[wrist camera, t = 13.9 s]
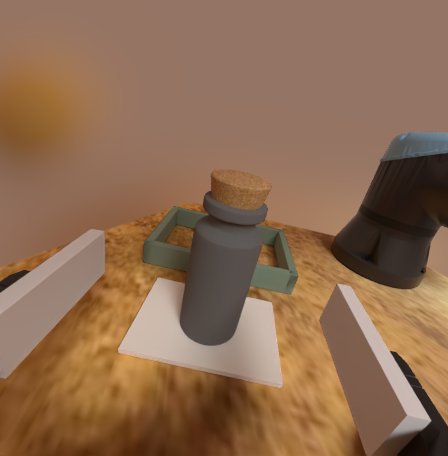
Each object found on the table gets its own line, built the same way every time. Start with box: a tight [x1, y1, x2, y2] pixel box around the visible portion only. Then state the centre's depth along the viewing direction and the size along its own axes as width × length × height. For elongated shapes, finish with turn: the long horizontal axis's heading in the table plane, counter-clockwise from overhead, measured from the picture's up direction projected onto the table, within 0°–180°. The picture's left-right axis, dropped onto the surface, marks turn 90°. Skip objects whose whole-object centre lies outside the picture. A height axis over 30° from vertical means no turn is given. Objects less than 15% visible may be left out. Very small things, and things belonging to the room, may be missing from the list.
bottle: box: [180, 170, 272, 346], centre depth 22 cm, size 6×6×15 cm
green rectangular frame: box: [143, 206, 298, 295], centre depth 38 cm, size 20×14×3 cm
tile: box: [118, 278, 283, 388], centre depth 25 cm, size 14×10×1 cm
